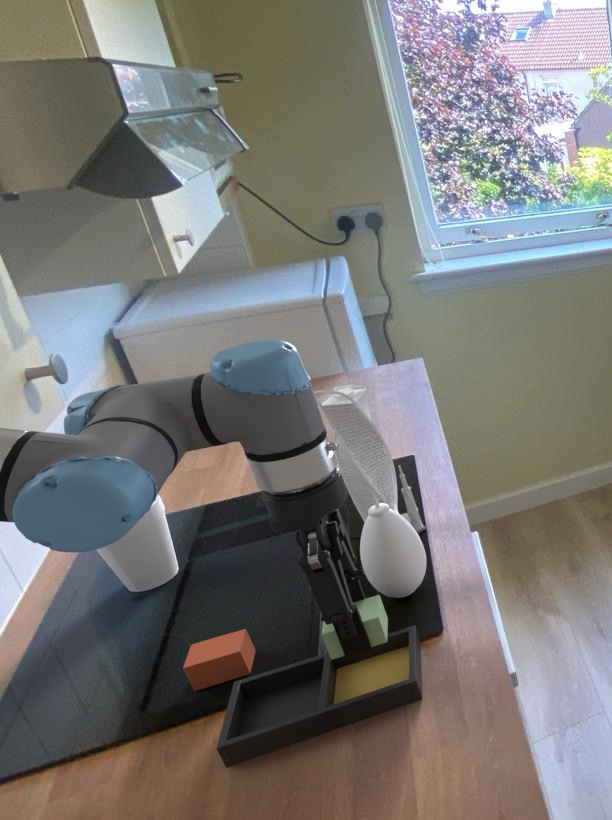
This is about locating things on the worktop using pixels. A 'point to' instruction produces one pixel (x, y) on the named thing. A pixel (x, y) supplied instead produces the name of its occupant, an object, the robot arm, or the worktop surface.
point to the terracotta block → (219, 659)
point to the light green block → (373, 624)
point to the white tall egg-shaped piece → (391, 552)
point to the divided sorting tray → (319, 696)
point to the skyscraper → (365, 453)
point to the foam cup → (144, 552)
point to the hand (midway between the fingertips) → (359, 637)
